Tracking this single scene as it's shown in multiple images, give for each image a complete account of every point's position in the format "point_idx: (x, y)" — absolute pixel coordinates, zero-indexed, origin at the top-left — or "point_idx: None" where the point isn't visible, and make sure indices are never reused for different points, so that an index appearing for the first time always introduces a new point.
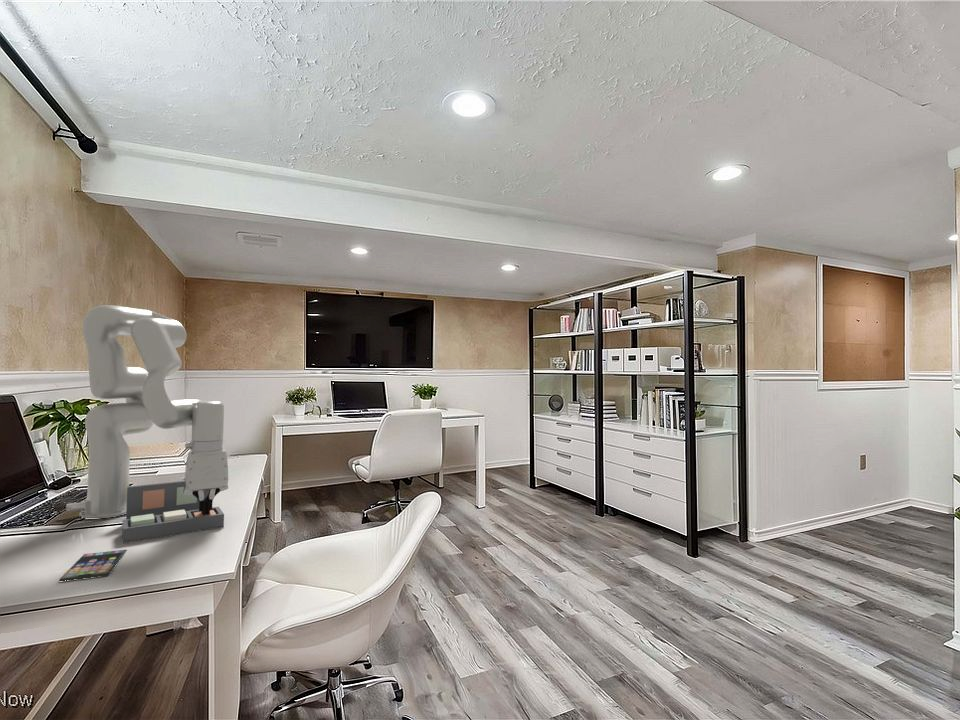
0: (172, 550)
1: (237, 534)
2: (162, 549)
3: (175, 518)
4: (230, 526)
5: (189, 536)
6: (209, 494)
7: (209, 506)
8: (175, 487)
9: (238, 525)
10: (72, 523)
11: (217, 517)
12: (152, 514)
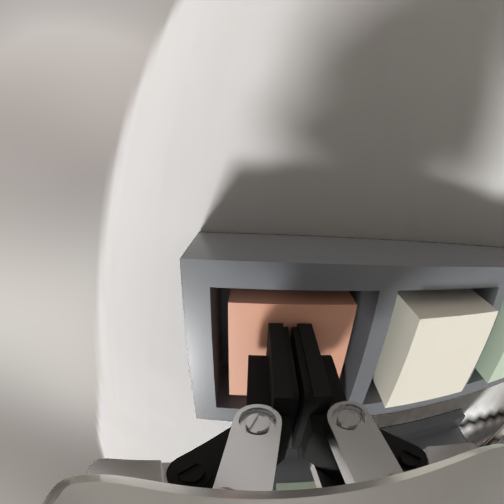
0: (453, 42)
1: (162, 59)
2: (480, 83)
3: (456, 306)
4: (165, 222)
5: (386, 174)
6: (277, 451)
7: (275, 356)
8: None
9: (126, 216)
10: (486, 440)
11: (228, 252)
12: (494, 373)
